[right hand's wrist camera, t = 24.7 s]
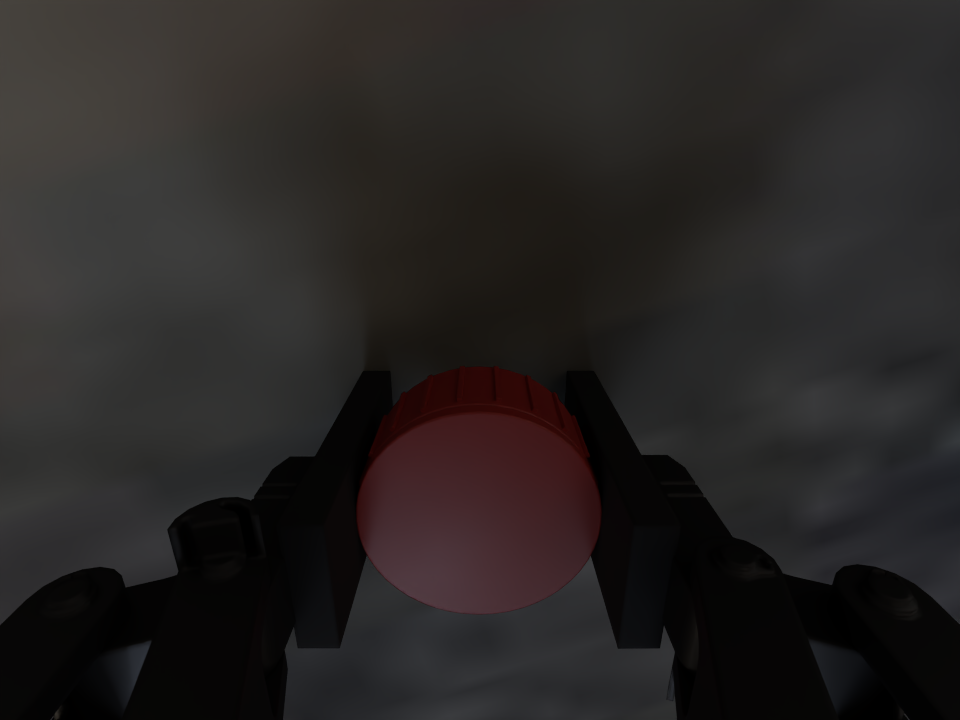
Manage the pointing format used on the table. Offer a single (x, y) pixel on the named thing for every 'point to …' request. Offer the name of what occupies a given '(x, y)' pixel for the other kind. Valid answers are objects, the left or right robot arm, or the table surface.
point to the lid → (478, 493)
